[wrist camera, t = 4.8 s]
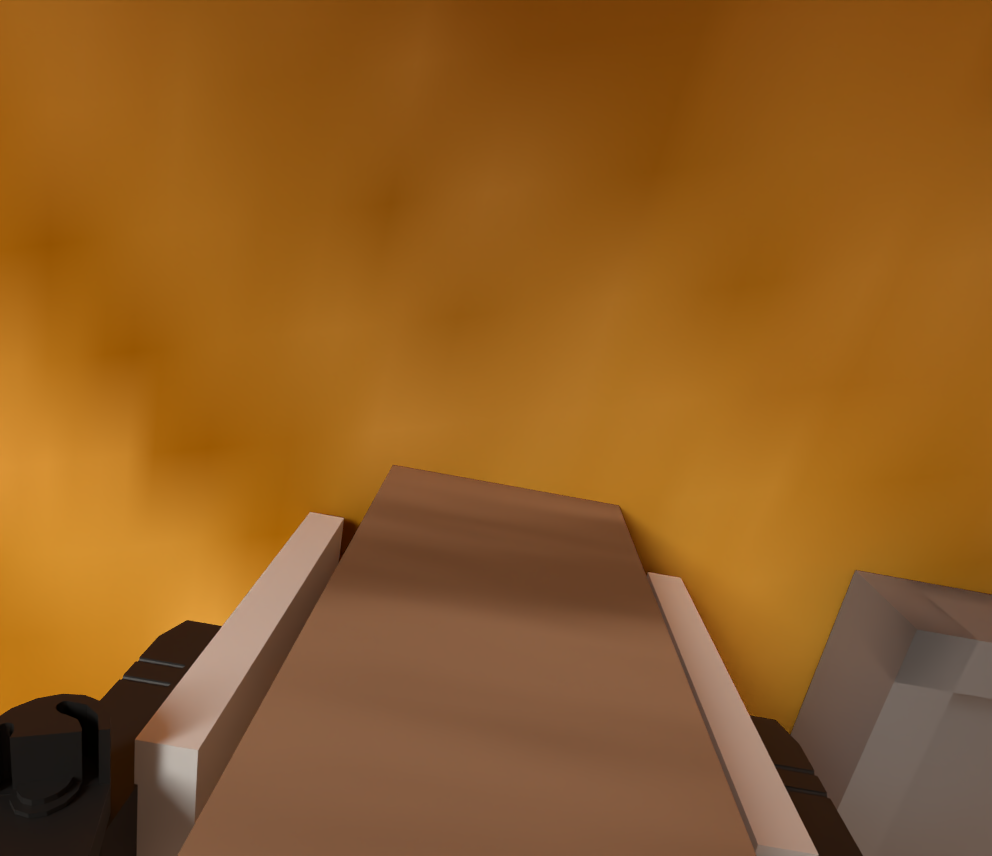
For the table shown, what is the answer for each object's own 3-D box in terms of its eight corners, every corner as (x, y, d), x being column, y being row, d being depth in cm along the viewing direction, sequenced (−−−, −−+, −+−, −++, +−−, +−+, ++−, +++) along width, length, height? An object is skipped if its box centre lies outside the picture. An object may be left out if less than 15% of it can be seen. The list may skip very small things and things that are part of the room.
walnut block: (392, 464, 13) (87, 1018, 4) (618, 505, 14) (869, 1143, 4) (366, 657, 15) (93, 1410, 5) (569, 692, 15) (667, 1494, 5)
